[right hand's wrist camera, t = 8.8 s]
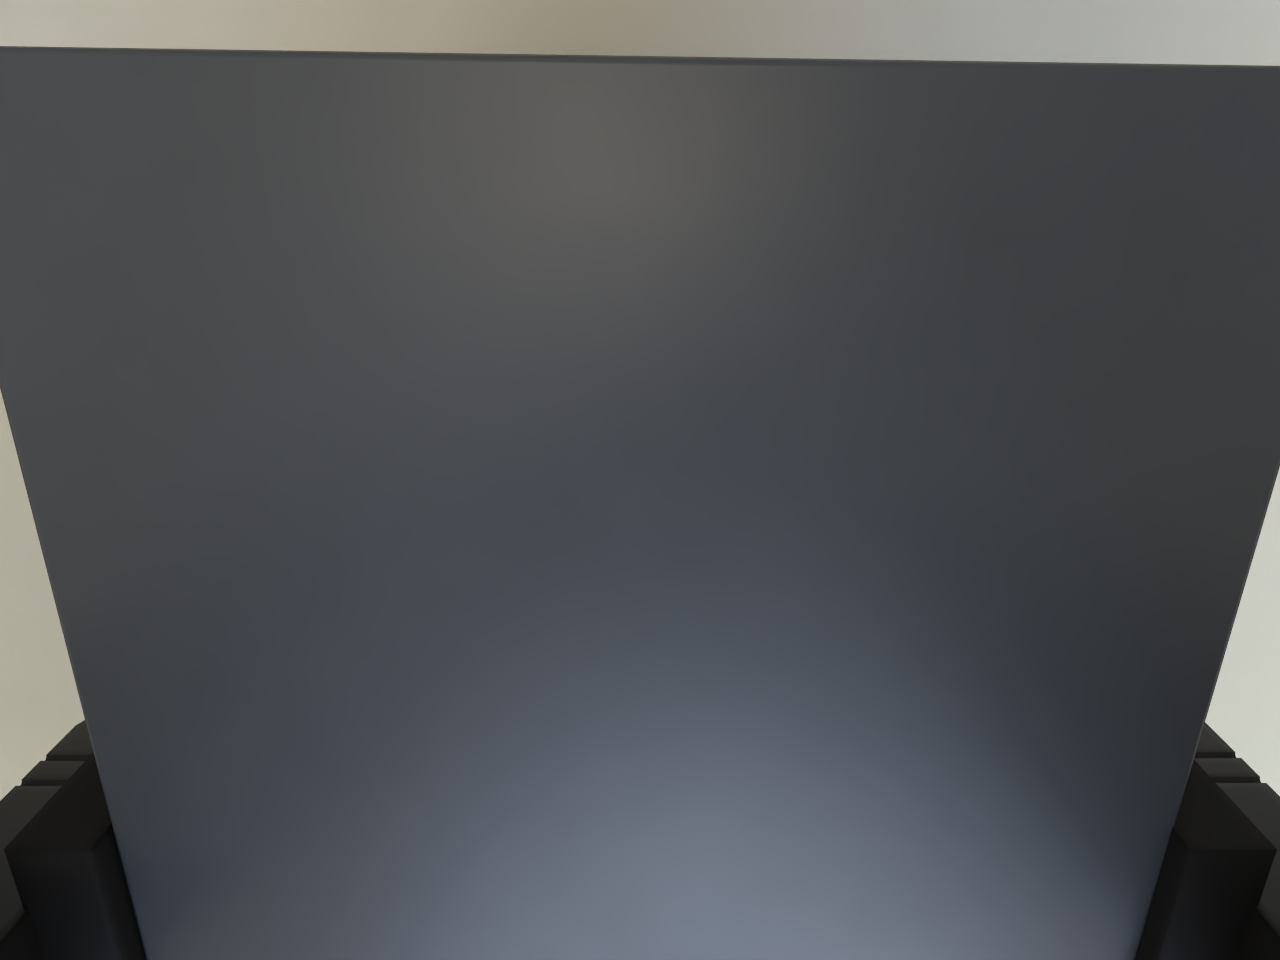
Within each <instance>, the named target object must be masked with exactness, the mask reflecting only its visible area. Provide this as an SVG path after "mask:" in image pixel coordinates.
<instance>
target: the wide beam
mask: <svg viewBox="0 0 1280 960" xmlns="http://www.w3.org/2000/svg"><path fill="white" fill-rule="evenodd" d="M0 388H1V392H2V396H3V400H4V404H5V408H6V412H7V416H8V419H9V423H10V427H11V431H12V435H13V439H14V443H15V447H16V451H17V455H18V459H19V462H20V466H21V470H22V474H23V478H24V482H25V486H26V490H27V494H28V498H29V502H30V505H31V509H32V513H33V517H34V521H35V525H36V529H37V533H38V537H39V541H40V545H41V548H42V552H43V556H44V560H45V564H46V568H47V572H48V576H49V580H50V584H51V588H52V591H53V595H54V599H55V603H56V607H57V611H58V615H59V619H60V623H61V627H62V631H63V634H64V638H65V642H66V646H67V650H68V654H69V658H70V662H71V666H72V670H73V674H74V677H75V681H76V685H77V689H78V693H79V697H80V701H81V705H82V709H83V713H84V717H85V721H86V724H87V728H88V732H89V736H90V740H91V744H92V748H93V752H94V756H95V760H96V764H97V767H98V771H99V775H100V779H101V783H102V787H103V791H104V795H105V799H106V803H107V807H108V810H109V814H110V818H111V822H112V826H113V830H114V834H115V838H116V842H117V846H118V850H119V853H120V857H121V861H122V865H123V869H124V873H125V877H126V881H127V885H128V889H129V893H130V896H131V900H132V904H133V908H134V912H135V916H136V920H137V924H138V928H139V932H140V936H141V939H142V943H143V947H144V951H145V955H146V959H147V960H1135V958H1136V955H1137V951H1138V948H1139V944H1140V941H1141V938H1142V934H1143V931H1144V927H1145V923H1146V920H1147V916H1148V913H1149V909H1150V906H1151V902H1152V898H1153V895H1154V891H1155V888H1156V884H1157V881H1158V877H1159V874H1160V870H1161V866H1162V863H1163V859H1164V856H1165V852H1166V849H1167V845H1168V842H1169V838H1170V834H1171V831H1172V827H1174V825H1175V822H1176V818H1177V815H1178V811H1179V808H1180V805H1181V801H1182V798H1183V794H1184V791H1185V788H1186V784H1187V781H1188V777H1189V774H1190V770H1191V767H1192V764H1193V760H1194V757H1195V753H1196V750H1197V747H1198V743H1199V740H1200V736H1201V733H1202V730H1203V726H1204V723H1205V719H1206V716H1207V712H1208V709H1209V706H1210V702H1211V699H1212V695H1213V692H1214V689H1215V685H1216V682H1217V678H1218V675H1219V672H1220V668H1221V665H1222V661H1223V658H1224V654H1225V651H1226V648H1227V644H1228V641H1229V637H1230V634H1231V631H1232V627H1233V624H1234V620H1235V617H1236V614H1237V610H1238V607H1239V603H1240V600H1241V596H1242V593H1243V590H1244V586H1245V583H1246V579H1247V576H1248V573H1249V569H1250V566H1251V562H1252V559H1253V556H1254V552H1255V549H1256V545H1257V542H1258V538H1259V535H1260V532H1261V528H1262V525H1263V521H1264V518H1265V515H1266V511H1267V508H1268V504H1269V501H1270V497H1271V494H1272V491H1273V487H1274V484H1275V480H1276V477H1277V474H1278V470H1279V467H1280V66H1248V65H1183V64H1118V63H1053V62H987V61H922V60H857V59H792V58H727V57H662V56H597V55H532V54H467V53H402V52H337V51H272V50H207V49H142V48H77V47H12V46H0Z"/></svg>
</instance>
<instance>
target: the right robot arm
mask: <svg viewBox="0 0 1280 960" xmlns="http://www.w3.org/2000/svg"><path fill="white" fill-rule="evenodd" d="M0 960H147V959H146V955H145V951H144V947H143V943H142V939H141V936H140V932H139V928H138V924H137V920H136V916H135V912H134V908H133V904H132V900H131V896H130V893H129V889H128V885H127V881H126V877H125V873H124V869H123V865H122V861H121V857H120V853H119V850H118V846H117V842H116V838H115V834H114V830H113V826H112V822H111V818H110V814H109V810H108V807H107V803H106V799H105V795H104V791H103V787H102V783H101V779H100V775H99V771H98V767H97V764H96V760H95V756H94V752H93V748H92V744H91V740H90V736H89V732H88V728H87V724H86V721H85V720H84V721H83V722H81V723H79V724H78V725H76V726H75V727H74V728H73V729H72V730H71V731H70V732H69V733H68V734H67V735H66V736H65V737H64V738H63V739H62V740H61V741H60V742H59V743H58V744H57V745H56V746H55V747H54V748H53V749H52V750H51V751H50V752H49V753H48V754H47V755H46V760H45V761H40V762H39V763H38V764H37V765H36V766H35V767H34V768H33V769H32V770H31V771H30V772H29V773H28V774H27V775H26V776H25V777H24V778H23V779H22V784H21V786H15V787H14V788H13V789H12V790H11V791H10V792H9V793H8V794H7V795H6V796H5V797H4V798H3V799H2V800H1V801H0ZM1135 960H1280V796H1279V795H1278V794H1277V793H1276V792H1275V791H1274V790H1273V789H1272V788H1271V787H1270V786H1269V785H1268V784H1267V783H1261V782H1260V777H1259V776H1258V775H1257V774H1256V773H1255V772H1254V771H1253V770H1252V769H1251V768H1250V767H1249V766H1248V765H1247V764H1246V763H1245V762H1244V761H1243V760H1242V759H1241V758H1236V756H1235V752H1234V751H1233V750H1232V749H1231V748H1230V747H1229V746H1228V745H1227V744H1226V743H1225V742H1224V741H1223V740H1222V739H1221V738H1220V737H1219V736H1218V735H1217V734H1216V733H1215V732H1214V731H1213V730H1212V729H1211V728H1210V727H1209V726H1208V725H1207V724H1206V723H1204V726H1203V730H1202V733H1201V736H1200V740H1199V743H1198V747H1197V750H1196V753H1195V757H1194V760H1193V764H1192V767H1191V770H1190V774H1189V777H1188V781H1187V784H1186V788H1185V791H1184V794H1183V798H1182V801H1181V805H1180V808H1179V811H1178V815H1177V818H1176V822H1175V825H1174V827H1172V831H1171V834H1170V838H1169V842H1168V845H1167V849H1166V852H1165V856H1164V859H1163V863H1162V866H1161V870H1160V874H1159V877H1158V881H1157V884H1156V888H1155V891H1154V895H1153V898H1152V902H1151V906H1150V909H1149V913H1148V916H1147V920H1146V923H1145V927H1144V931H1143V934H1142V938H1141V941H1140V944H1139V948H1138V951H1137V955H1136V958H1135Z"/></svg>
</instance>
